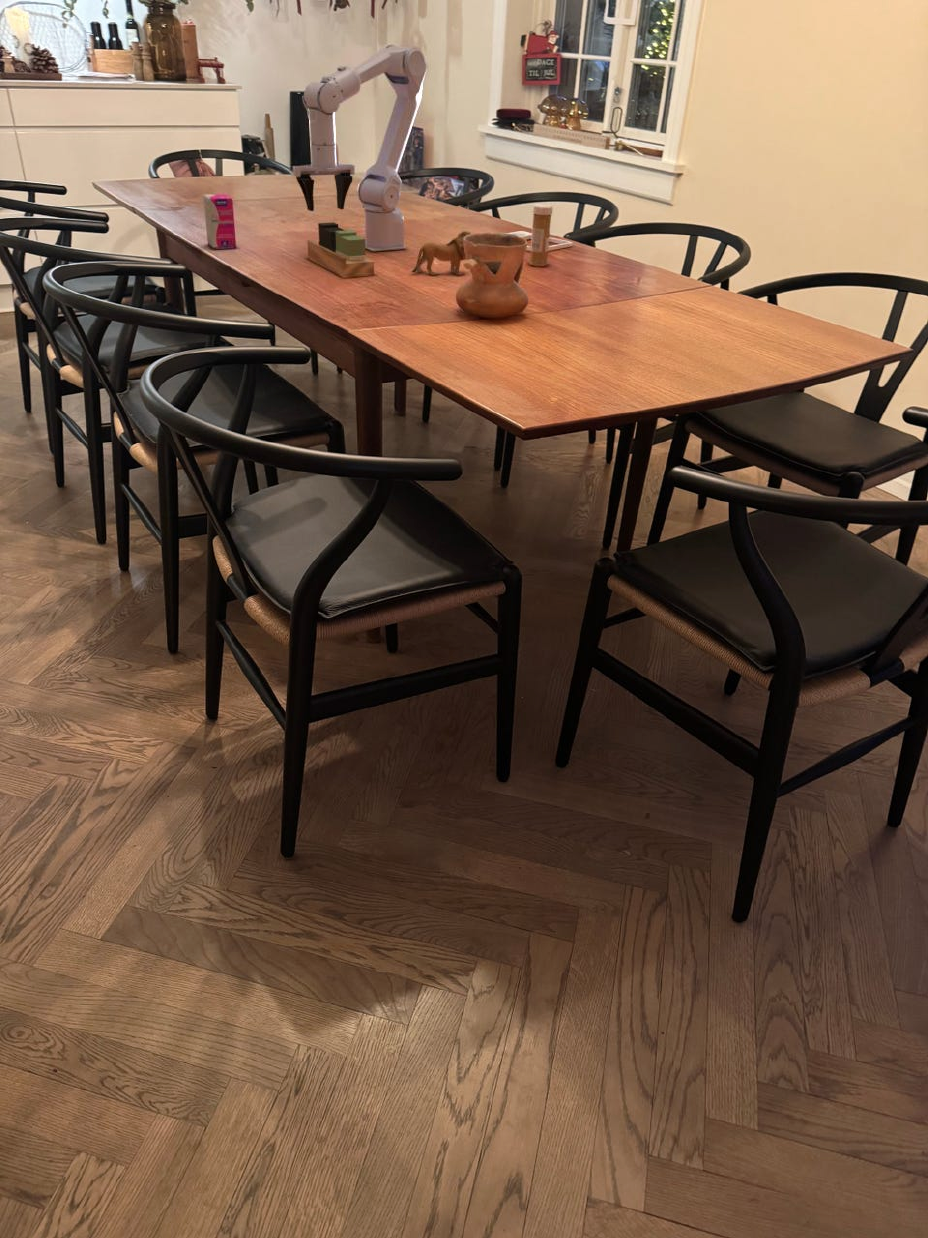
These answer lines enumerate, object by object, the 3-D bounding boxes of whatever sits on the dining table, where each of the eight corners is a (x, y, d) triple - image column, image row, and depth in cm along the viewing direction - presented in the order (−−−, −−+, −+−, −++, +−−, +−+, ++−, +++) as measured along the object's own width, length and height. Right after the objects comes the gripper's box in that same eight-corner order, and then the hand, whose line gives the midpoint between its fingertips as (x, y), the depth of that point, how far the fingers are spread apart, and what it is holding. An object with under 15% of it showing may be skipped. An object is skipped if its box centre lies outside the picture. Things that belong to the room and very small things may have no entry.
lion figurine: (468, 269, 208) (469, 228, 203) (476, 274, 204) (478, 233, 199) (408, 271, 204) (408, 230, 199) (415, 277, 200) (416, 234, 195)
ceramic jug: (493, 329, 168) (498, 250, 160) (436, 314, 176) (438, 237, 168) (547, 312, 180) (554, 237, 172) (491, 298, 187) (495, 226, 179)
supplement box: (213, 249, 214) (208, 198, 207) (207, 244, 218) (201, 193, 212) (237, 248, 216) (232, 197, 210) (230, 243, 220) (225, 193, 214)
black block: (334, 244, 211) (333, 221, 208) (347, 251, 206) (346, 227, 203) (318, 245, 209) (317, 222, 206) (331, 252, 204) (330, 229, 201)
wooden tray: (337, 256, 214) (336, 237, 211) (374, 275, 200) (374, 255, 198) (308, 258, 210) (307, 239, 208) (344, 278, 197) (343, 258, 194)
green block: (351, 252, 204) (350, 229, 201) (366, 259, 199) (365, 236, 196) (335, 254, 202) (334, 230, 199) (349, 261, 197) (349, 237, 194)
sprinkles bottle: (551, 265, 215) (556, 205, 207) (536, 267, 213) (541, 206, 205) (539, 261, 218) (545, 202, 211) (524, 263, 216) (529, 203, 208)
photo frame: (521, 229, 244) (573, 241, 234) (521, 234, 245) (572, 245, 235) (485, 236, 235) (538, 248, 225) (485, 240, 236) (537, 252, 226)
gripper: (300, 146, 194) (303, 213, 202) (359, 145, 201) (361, 210, 208) (287, 142, 199) (291, 208, 207) (346, 141, 206) (348, 205, 213)
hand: (325, 209), depth 208 cm, fingers open, 7 cm apart
